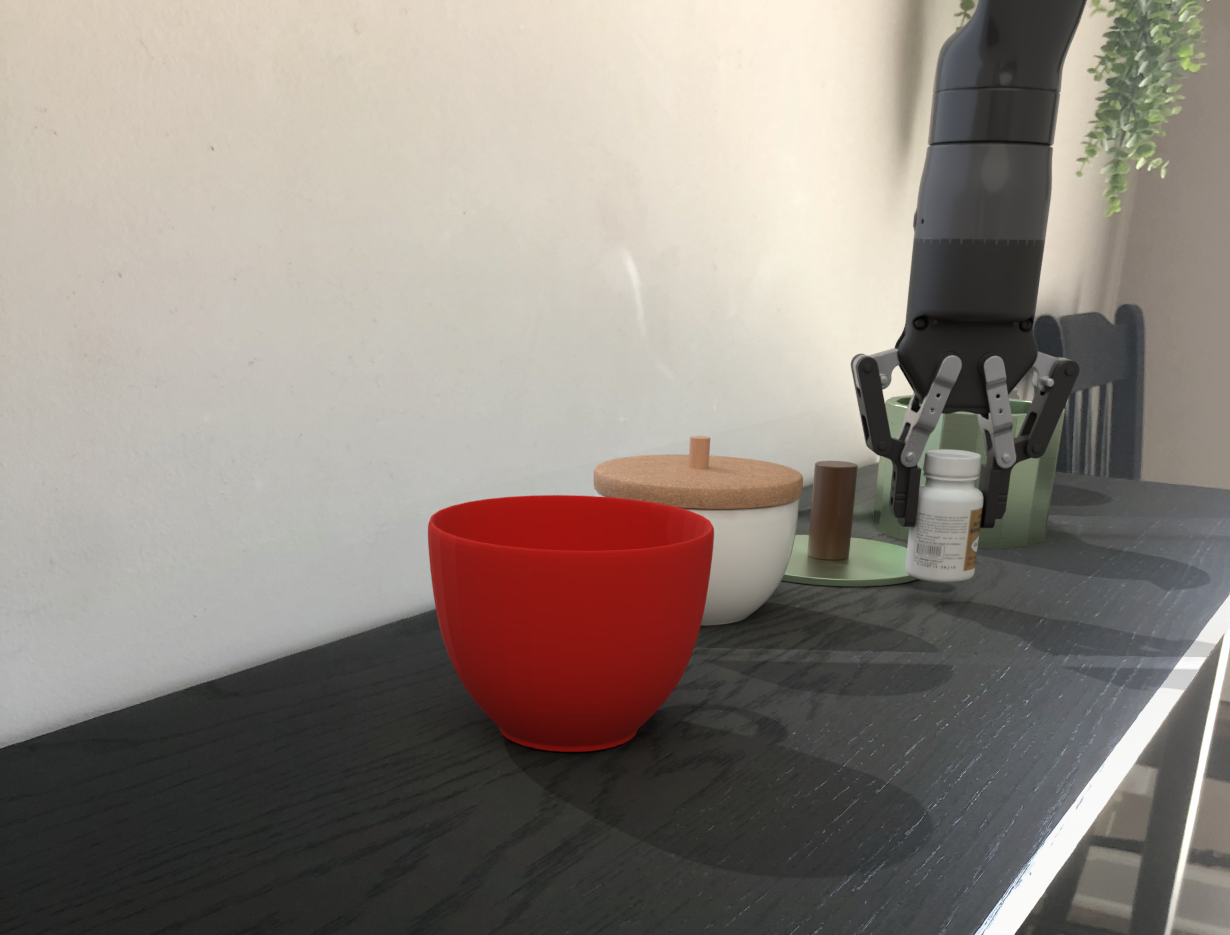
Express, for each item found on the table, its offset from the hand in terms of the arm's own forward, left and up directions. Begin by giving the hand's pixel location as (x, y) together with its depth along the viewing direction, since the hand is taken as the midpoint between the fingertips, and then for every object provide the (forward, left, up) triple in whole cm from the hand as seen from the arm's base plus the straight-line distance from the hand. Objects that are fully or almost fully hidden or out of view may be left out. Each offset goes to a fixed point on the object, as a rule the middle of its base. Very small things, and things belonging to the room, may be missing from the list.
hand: (945, 524), depth 85 cm
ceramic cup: (+23, +22, -6) cm, 33 cm away
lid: (+5, -11, -5) cm, 13 cm away
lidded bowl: (+16, +3, -6) cm, 18 cm away
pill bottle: (0, 0, -4) cm, 4 cm away
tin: (-8, -24, -6) cm, 26 cm away
